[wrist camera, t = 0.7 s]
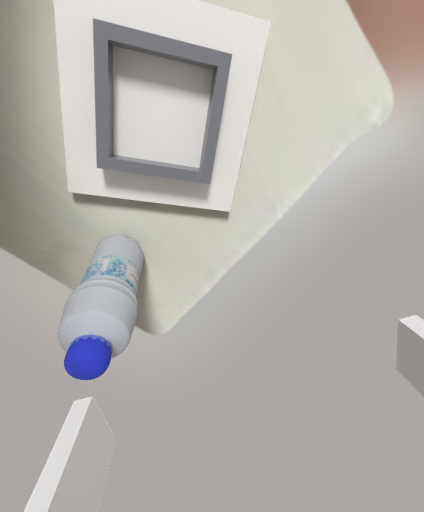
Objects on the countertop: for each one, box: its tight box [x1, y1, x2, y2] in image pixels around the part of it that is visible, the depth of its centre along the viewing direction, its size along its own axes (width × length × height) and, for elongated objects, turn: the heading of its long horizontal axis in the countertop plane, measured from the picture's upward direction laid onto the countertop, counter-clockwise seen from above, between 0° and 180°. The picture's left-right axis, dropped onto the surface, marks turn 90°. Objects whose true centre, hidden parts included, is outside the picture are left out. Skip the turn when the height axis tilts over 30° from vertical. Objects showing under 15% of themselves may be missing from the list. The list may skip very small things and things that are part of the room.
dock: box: [53, 0, 271, 212], centre depth 28 cm, size 20×20×4 cm
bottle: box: [58, 234, 144, 380], centre depth 29 cm, size 7×7×20 cm
